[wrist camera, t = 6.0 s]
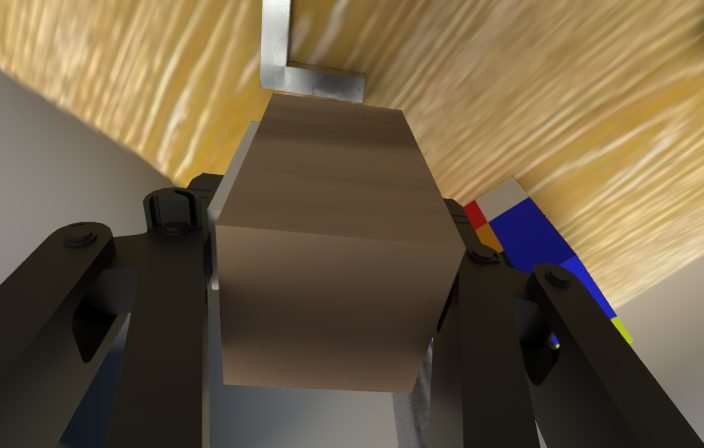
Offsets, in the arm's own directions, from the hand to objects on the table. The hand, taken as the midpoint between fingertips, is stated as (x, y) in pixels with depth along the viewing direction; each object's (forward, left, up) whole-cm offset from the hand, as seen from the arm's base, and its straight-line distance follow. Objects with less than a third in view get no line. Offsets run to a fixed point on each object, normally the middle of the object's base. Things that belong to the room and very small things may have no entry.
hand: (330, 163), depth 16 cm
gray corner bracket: (-2, -1, -12) cm, 12 cm away
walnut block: (0, 0, 0) cm, 0 cm away
